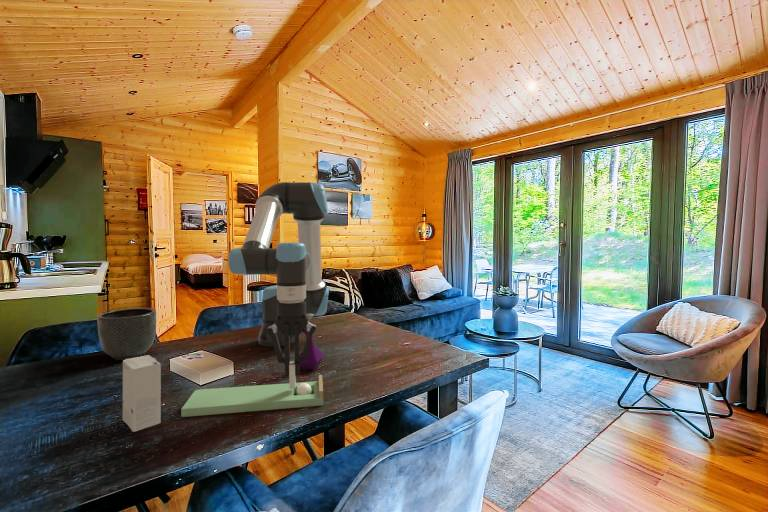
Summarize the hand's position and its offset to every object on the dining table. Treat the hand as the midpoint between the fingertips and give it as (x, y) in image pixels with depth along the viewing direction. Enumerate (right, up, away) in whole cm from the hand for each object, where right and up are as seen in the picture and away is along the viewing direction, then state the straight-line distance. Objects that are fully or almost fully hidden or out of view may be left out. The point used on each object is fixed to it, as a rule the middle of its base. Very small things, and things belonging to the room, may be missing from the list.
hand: (292, 386), depth 99 cm
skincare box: (-32, -4, -12) cm, 35 cm away
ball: (+3, -1, 0) cm, 3 cm away
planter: (-67, -1, +32) cm, 74 cm away
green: (-9, -3, -1) cm, 10 cm away
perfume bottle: (0, -2, +23) cm, 23 cm away
